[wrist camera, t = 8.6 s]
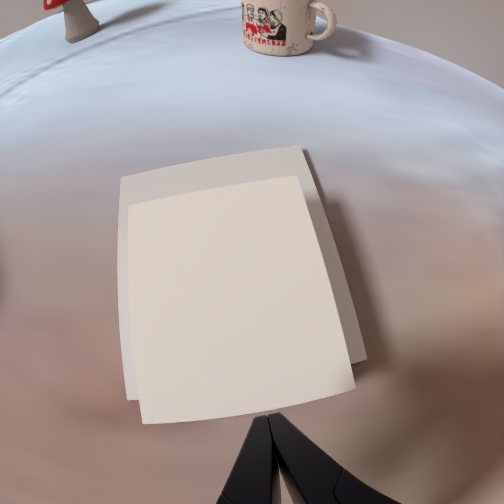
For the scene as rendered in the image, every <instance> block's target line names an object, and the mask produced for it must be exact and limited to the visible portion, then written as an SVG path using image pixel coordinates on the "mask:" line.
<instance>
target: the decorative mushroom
mask: <svg viewBox="0 0 504 504" xmlns="http://www.w3.org/2000/svg"><path fill="white" fill-rule="evenodd" d="M61 5H63V8H64V19H65V26H66V37H65V39H66V40H67V41H68V42H69V43H75V42H78V41H80V40H82V39H84V38H86V37H88V36H90V35H91V34H93V33H95V32H96V31H97V30H98V28H99V21H98V20H96V19H95V18H94V17H93V15H92V14H91V13H90V11H89V9H88V7H87V6H86V5H85V3H84V2H83V0H44V9H45V10H49V9H54V8H57V7H59V6H61Z"/></svg>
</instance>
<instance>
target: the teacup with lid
mask: <svg viewBox="0 0 504 504" xmlns="http://www.w3.org/2000/svg"><path fill="white" fill-rule="evenodd" d="M241 4H242V25H243V41H244V44H245V45H246V46H247V47H248V48H249V49H251V50H253V51H255V52H258V53H262V54H266V55H274V56H291V55H297V54H301V53H304V52H306V51H308V50H309V49H310V48H311V47H312V45H313V40H323V39H326V38H328V37H329V36H330V35H331V34H332V33H333V32H334V30H335V28H336V24H337V19H336V15H335V13H334V12H333V11H332V9H331V8H330V7H328V6H327V5H325V4H323V3H320V2H317V0H241ZM316 9H318V10H320V11H322V12H323V13H324V14H325V16H326V17H327V27H326V30H325V31H324V32H323V33H322V34H317V33H314V29H315V20H316Z"/></svg>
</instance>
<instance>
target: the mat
mask: <svg viewBox="0 0 504 504" xmlns="http://www.w3.org/2000/svg"><path fill="white" fill-rule="evenodd" d="M295 175H297V178H298V181H299V184H300V187H301V190H302V193H303V196H304V199H305V202H306V205H307V208H308V211H309V214H310V217H311V220H312V224H313V227H314V230H315V233H316V237H317V240H318V243H319V247H320V250H321V253H322V257H323V260H324V264H325V267H326V271H327V274H328V278H329V281H330V285H331V288H332V292H333V296H334V300H335V303H336V307H337V311H338V315H339V319H340V323H341V326H342V330H343V334H344V339H345V343H346V347H347V351H348V355H349V360H350V364H354V363H357V362H360V361H364V360H367V355H366V351H365V347H364V343H363V339H362V335H361V331H360V327H359V323H358V319H357V316H356V312H355V308H354V305H353V301H352V297H351V294H350V290H349V287H348V283H347V280H346V277H345V273H344V270H343V267H342V263H341V260H340V257H339V254H338V251H337V247H336V244H335V241H334V238H333V235H332V232H331V229H330V226H329V223H328V220H327V217H326V214H325V211H324V208H323V205H322V203H321V200H320V197H319V194H318V191H317V189H316V186H315V183H314V180H313V178H312V175H311V172H310V170H309V167H308V164H307V162H306V159H305V157H304V154H303V151H302V149H301V146H291V147H282V148H274V149H266V150H259V151H252V152H245V153H239V154H232V155H226V156H220V157H215V158H209V159H204V160H198V161H193V162H188V163H183V164H178V165H173V166H168V167H164V168H159V169H155V170H150V171H146V172H142V173H137V174H133V175H129V176H125V177H121V187H120V202H119V220H118V307H119V326H120V340H121V351H122V361H123V371H124V379H125V387H126V394H127V400H139V397H138V390H137V382H136V375H135V366H134V357H133V347H132V337H131V324H130V309H129V288H128V207H129V205H133V204H138V203H142V202H147V201H151V200H156V199H161V198H166V197H171V196H175V195H181V194H186V193H191V192H196V191H201V190H207V189H212V188H218V187H224V186H229V185H235V184H241V183H248V182H254V181H260V180H267V179H274V178H281V177H288V176H295Z"/></svg>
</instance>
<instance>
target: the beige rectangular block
mask: <svg viewBox="0 0 504 504" xmlns="http://www.w3.org/2000/svg"><path fill="white" fill-rule="evenodd" d="M128 288H129V309H130V324H131V337H132V347H133V357H134V366H135V375H136V382H137V390H138V397H139V403H140V409H141V415H142V421H143V424H157V423H174V422H187V421H197V420H207V419H215V418H223V417H230V416H237V415H244V414H250V413H256V412H262V411H267V410H272V409H277V408H282V407H287V406H292V405H296V404H301V403H305V402H309V401H313V400H317V399H321V398H325V397H329V396H333V395H336V394H340V393H343V392H347V391H350V390H354V389H356V386H355V382H354V377H353V373H352V368H351V364H350V360H349V355H348V351H347V347H346V343H345V339H344V334H343V330H342V326H341V323H340V319H339V315H338V311H337V307H336V303H335V300H334V296H333V292H332V288H331V285H330V281H329V278H328V274H327V271H326V267H325V264H324V260H323V257H322V253H321V250H320V247H319V243H318V240H317V237H316V233H315V230H314V227H313V224H312V220H311V217H310V214H309V211H308V208H307V205H306V202H305V199H304V196H303V193H302V190H301V187H300V184H299V181H298V178H297V175H295V176H288V177H281V178H274V179H267V180H260V181H254V182H248V183H241V184H235V185H229V186H224V187H218V188H212V189H207V190H201V191H196V192H191V193H186V194H181V195H175V196H171V197H166V198H161V199H156V200H151V201H147V202H142V203H138V204H133V205H129V207H128Z"/></svg>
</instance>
